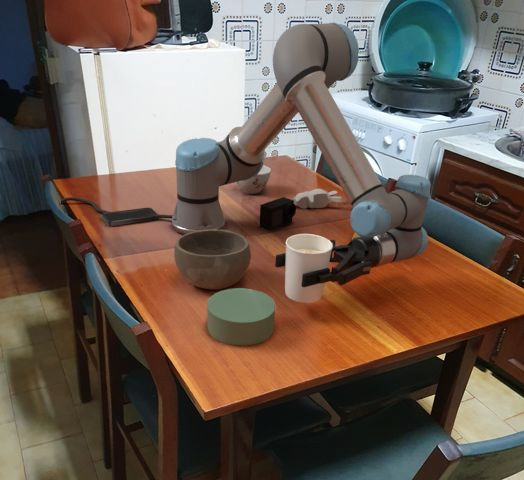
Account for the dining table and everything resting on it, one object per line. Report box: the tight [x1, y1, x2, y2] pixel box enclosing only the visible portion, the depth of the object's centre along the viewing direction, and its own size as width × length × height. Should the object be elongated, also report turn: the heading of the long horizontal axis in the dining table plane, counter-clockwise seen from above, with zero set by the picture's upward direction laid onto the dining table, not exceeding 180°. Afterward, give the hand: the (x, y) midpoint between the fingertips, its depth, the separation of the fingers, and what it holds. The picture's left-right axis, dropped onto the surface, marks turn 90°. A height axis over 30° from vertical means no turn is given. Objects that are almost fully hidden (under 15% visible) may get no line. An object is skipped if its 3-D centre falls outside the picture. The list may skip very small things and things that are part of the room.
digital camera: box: [258, 196, 297, 232], centre depth 160 cm, size 10×5×7 cm, turn 138°
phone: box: [101, 207, 159, 227], centre depth 160 cm, size 8×1×15 cm
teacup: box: [236, 164, 272, 195], centre depth 185 cm, size 15×12×8 cm
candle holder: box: [284, 233, 333, 304], centre depth 117 cm, size 10×10×12 cm
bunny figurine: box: [292, 188, 344, 210], centre depth 176 cm, size 10×5×15 cm
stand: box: [206, 287, 276, 347], centre depth 113 cm, size 14×14×6 cm
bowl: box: [173, 229, 252, 290], centre depth 129 cm, size 17×18×10 cm
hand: (289, 270), depth 114 cm, fingers closed on candle holder, 9 cm apart
